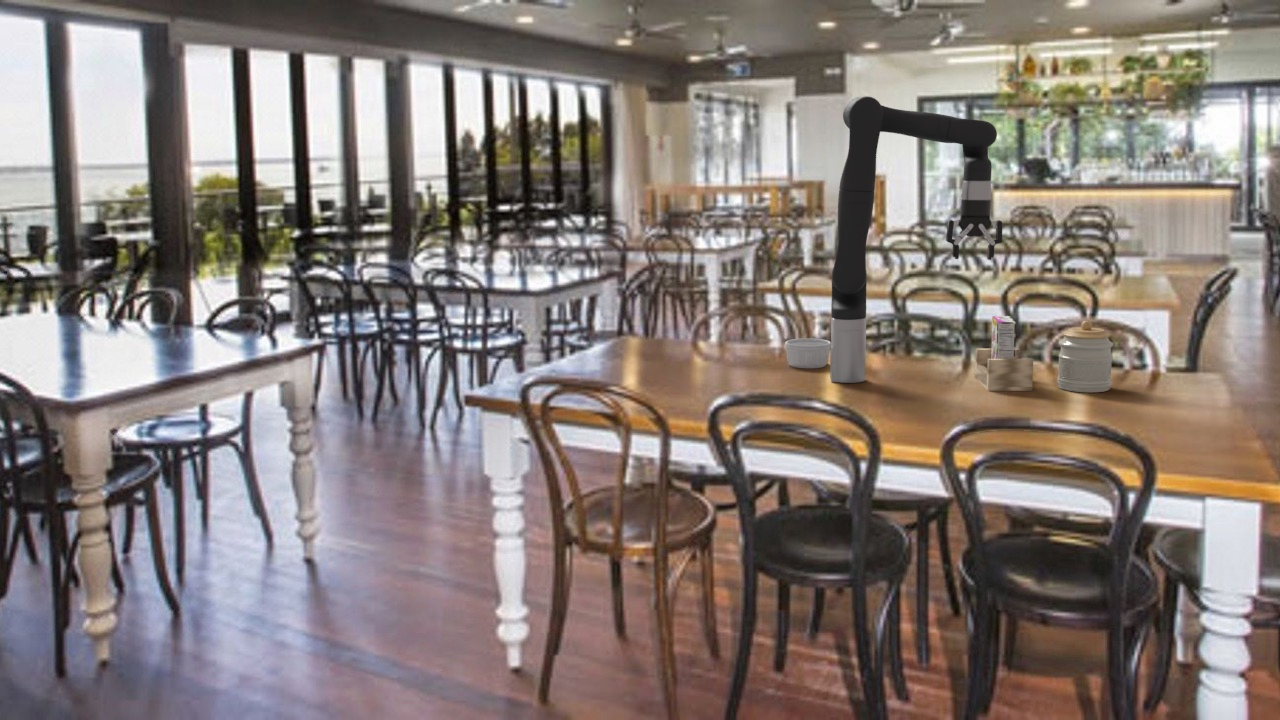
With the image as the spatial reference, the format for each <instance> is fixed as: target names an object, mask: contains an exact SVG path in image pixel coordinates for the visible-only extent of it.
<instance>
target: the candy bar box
mask: <svg viewBox="0 0 1280 720" xmlns="http://www.w3.org/2000/svg"><path fill="white" fill-rule="evenodd" d="M1016 324H1017V323H1016V321H1015V320H1014V319H1013V318H1012V316H1010V315H992V316H991V348H992V352H991V359H1015V348H1016V334H1017V333H1016V331H1017V330H1016V326H1017V325H1016Z"/></svg>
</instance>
